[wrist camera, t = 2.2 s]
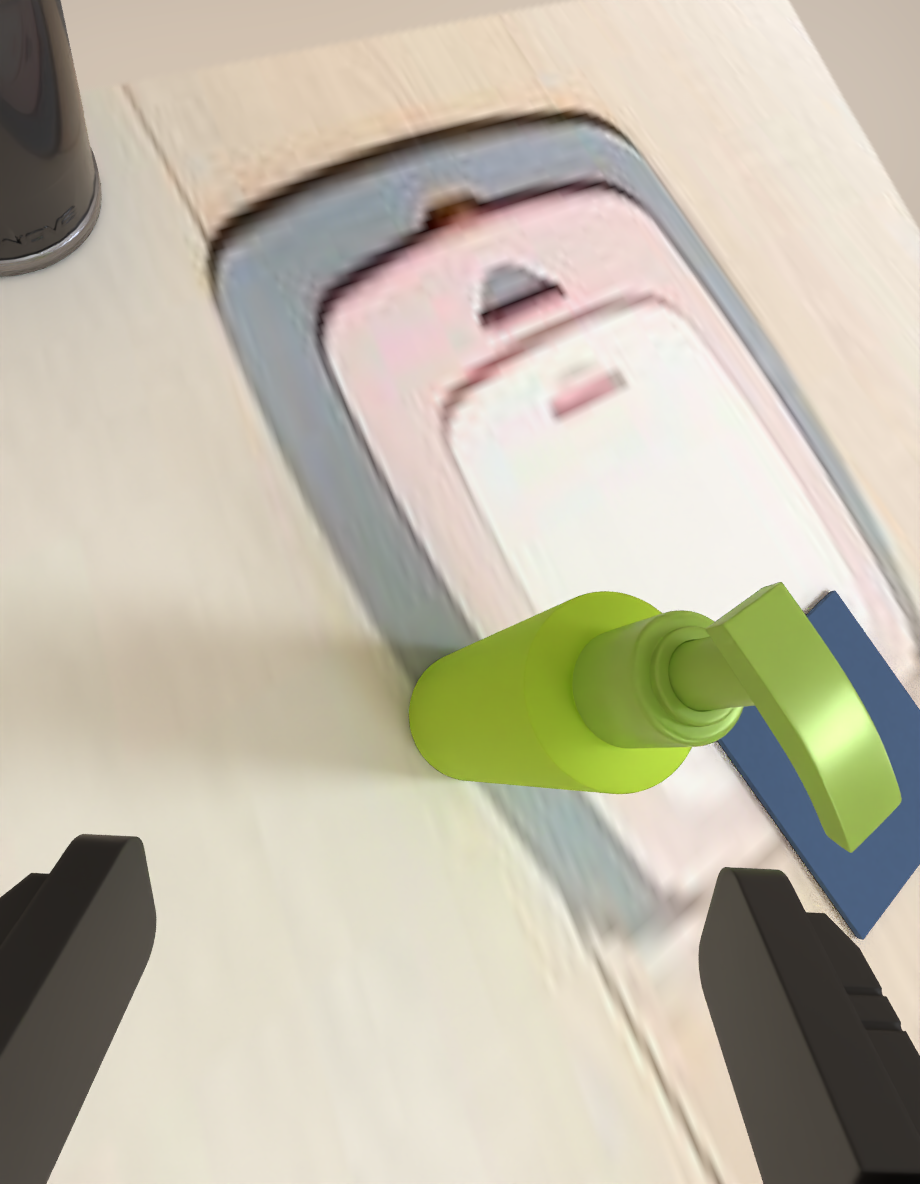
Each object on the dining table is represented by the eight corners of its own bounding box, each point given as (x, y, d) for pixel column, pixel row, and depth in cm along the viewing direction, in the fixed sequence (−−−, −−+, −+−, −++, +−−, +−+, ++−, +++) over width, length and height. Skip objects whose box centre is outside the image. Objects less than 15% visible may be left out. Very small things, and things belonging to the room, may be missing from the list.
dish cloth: (700, 717, 37) (705, 716, 36) (829, 591, 41) (835, 590, 41) (857, 938, 37) (863, 940, 36) (969, 788, 41) (976, 788, 41)
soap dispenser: (463, 827, 32) (808, 923, 13) (384, 692, 32) (615, 602, 13) (562, 754, 34) (976, 749, 15) (488, 629, 34) (808, 475, 16)
